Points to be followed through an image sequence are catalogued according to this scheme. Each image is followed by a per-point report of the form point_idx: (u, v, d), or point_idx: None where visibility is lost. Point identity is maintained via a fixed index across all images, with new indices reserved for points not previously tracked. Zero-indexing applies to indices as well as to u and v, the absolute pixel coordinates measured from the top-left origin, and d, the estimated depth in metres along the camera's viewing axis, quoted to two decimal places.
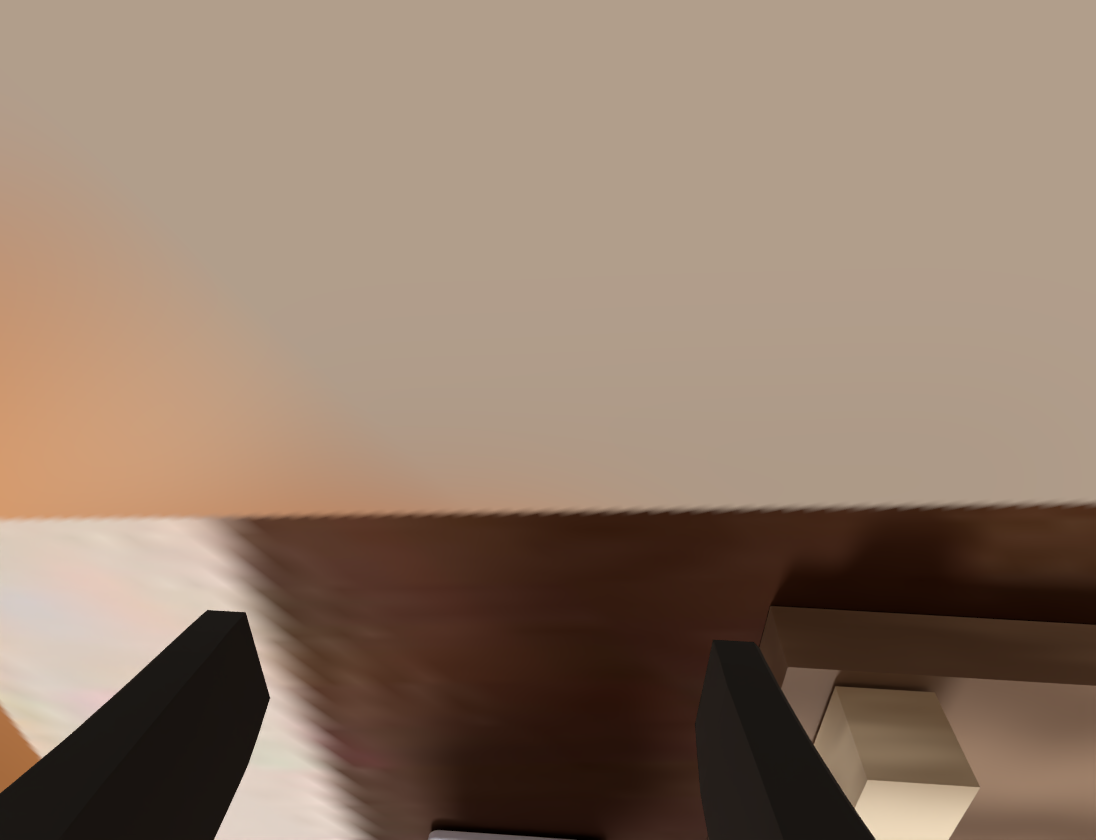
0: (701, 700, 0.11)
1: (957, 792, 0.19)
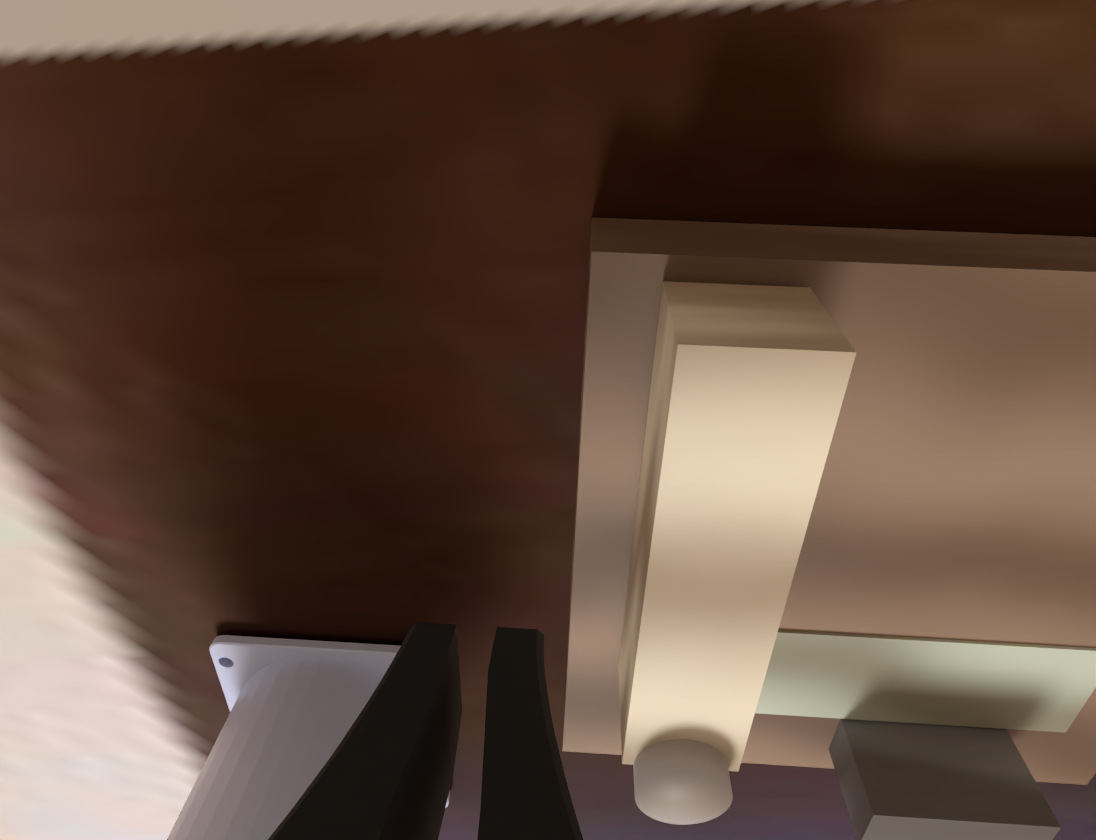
0: None
1: (822, 368, 0.12)
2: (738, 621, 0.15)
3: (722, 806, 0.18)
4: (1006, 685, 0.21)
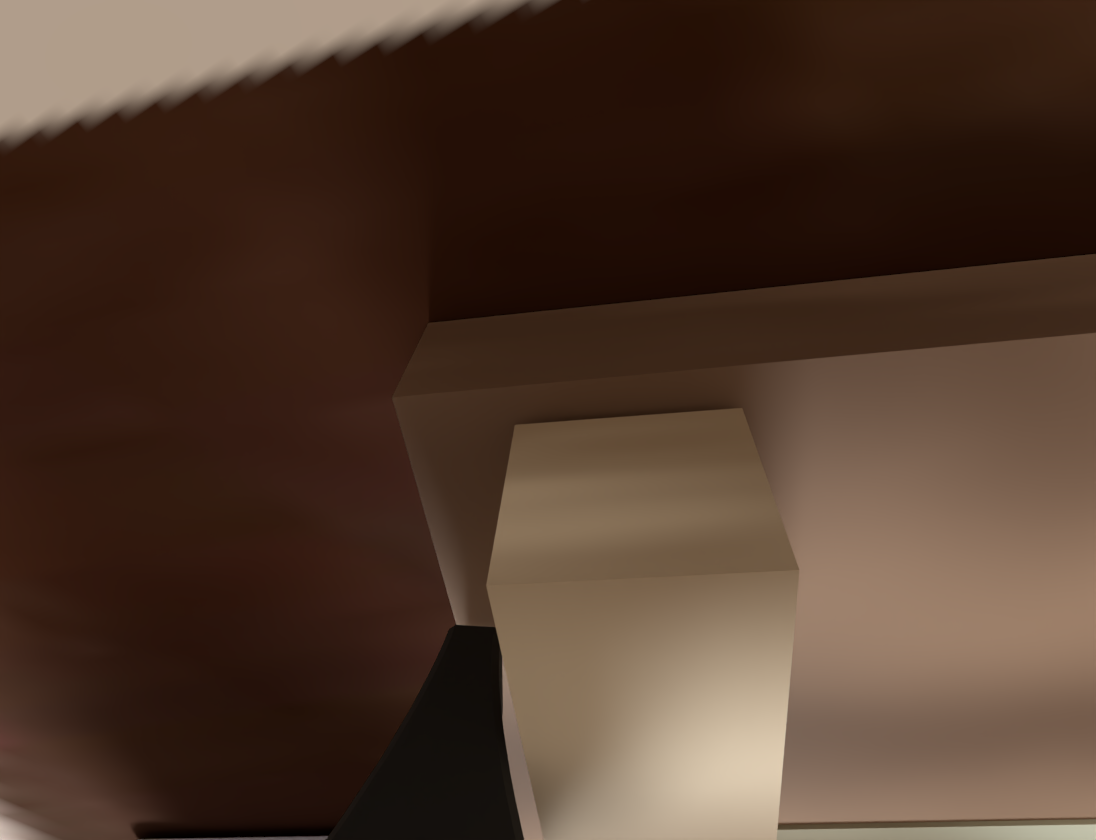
0: None
1: (746, 597, 0.07)
2: None
3: None
4: None
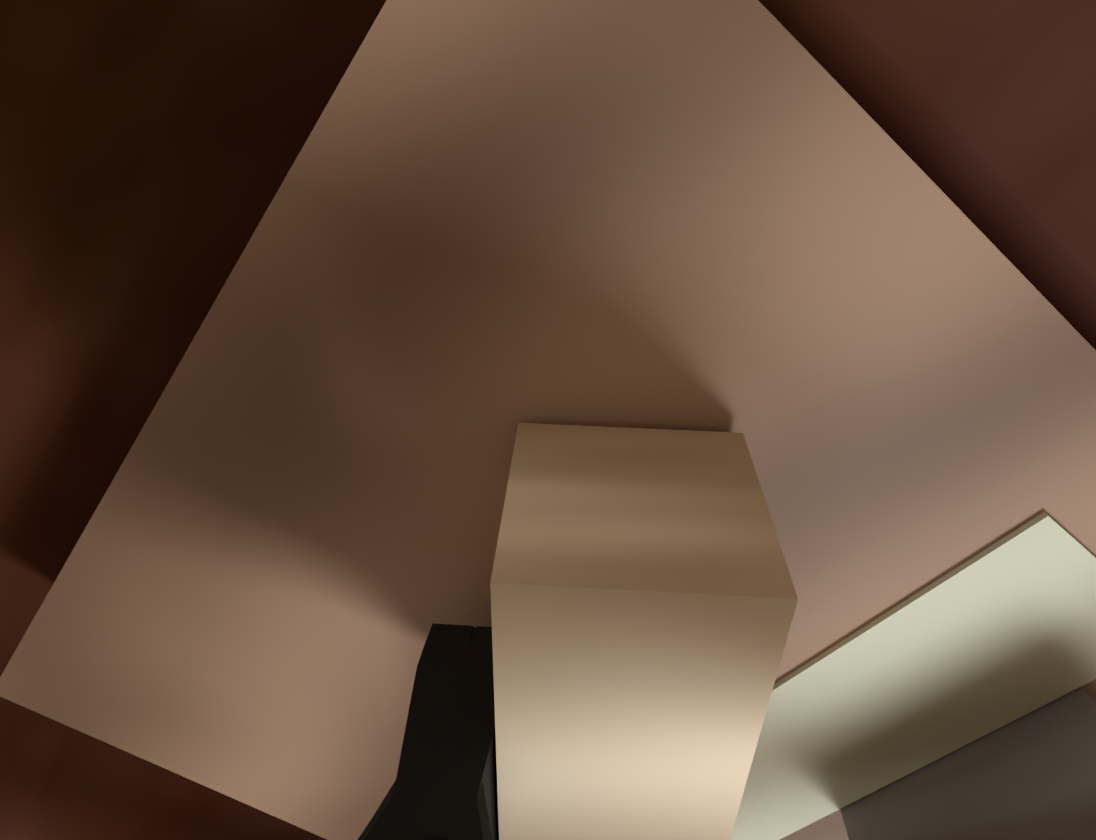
0: None
1: (742, 619, 0.07)
2: None
3: None
4: (966, 656, 0.12)
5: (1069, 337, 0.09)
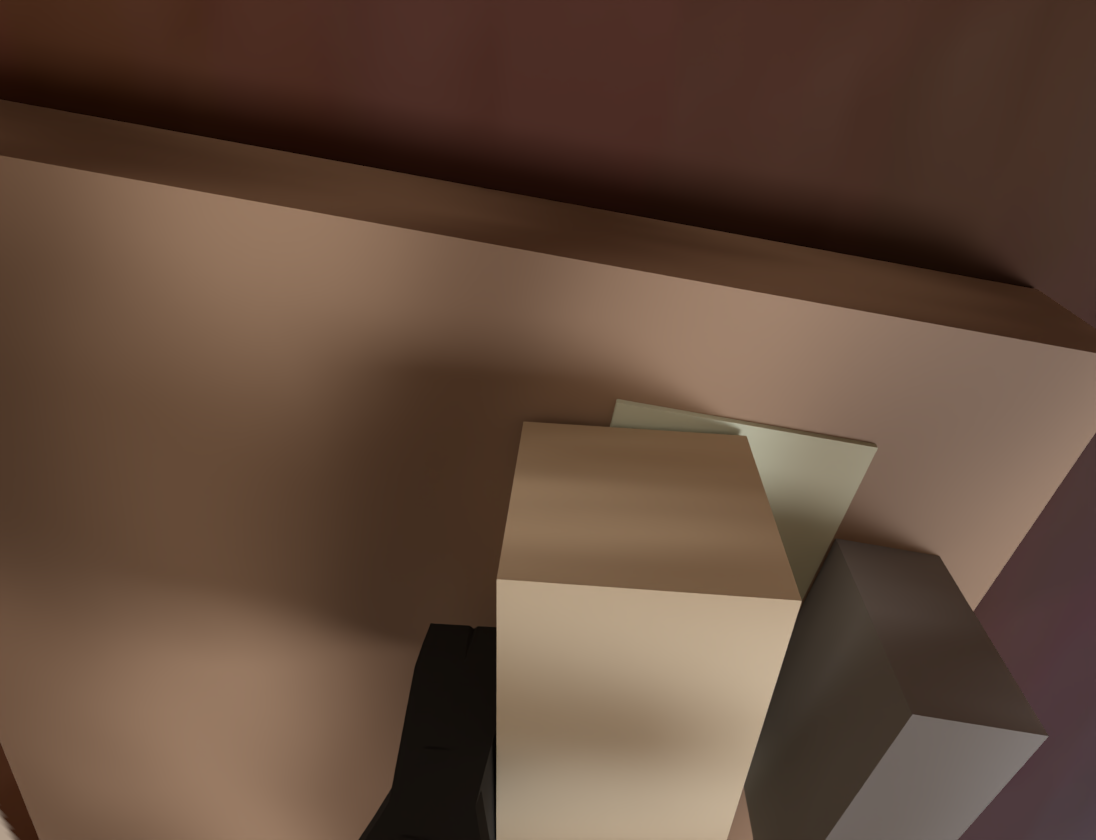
0: None
1: (745, 620, 0.07)
2: None
3: None
4: None
5: (472, 247, 0.09)
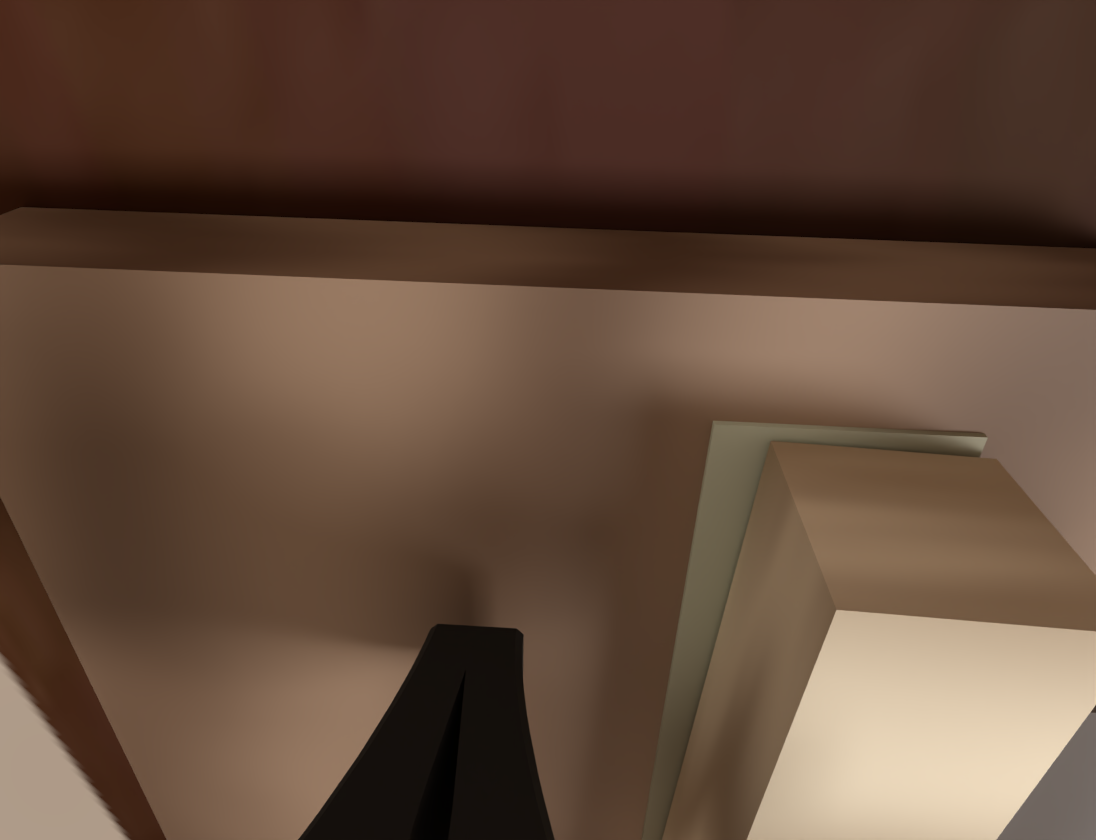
0: None
1: (1078, 653, 0.07)
2: None
3: None
4: None
5: (557, 294, 0.09)
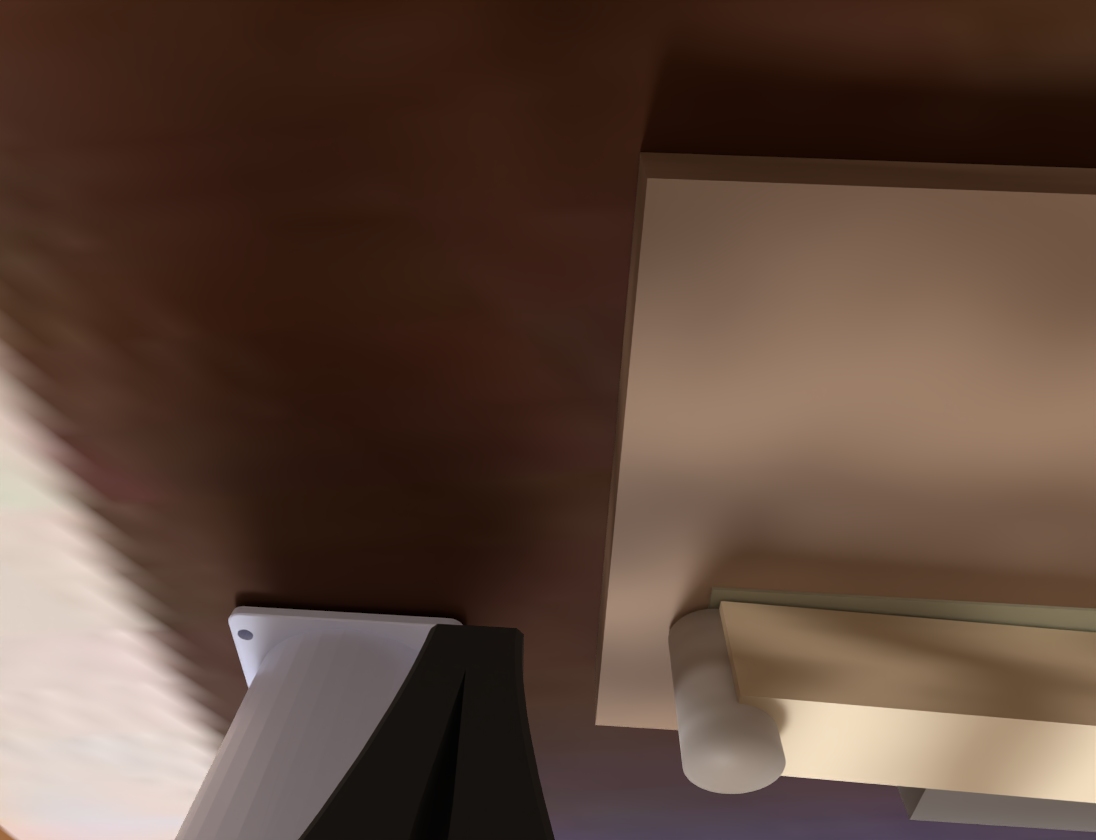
0: None
1: None
2: (941, 768, 0.18)
3: (714, 787, 0.17)
4: None
5: None
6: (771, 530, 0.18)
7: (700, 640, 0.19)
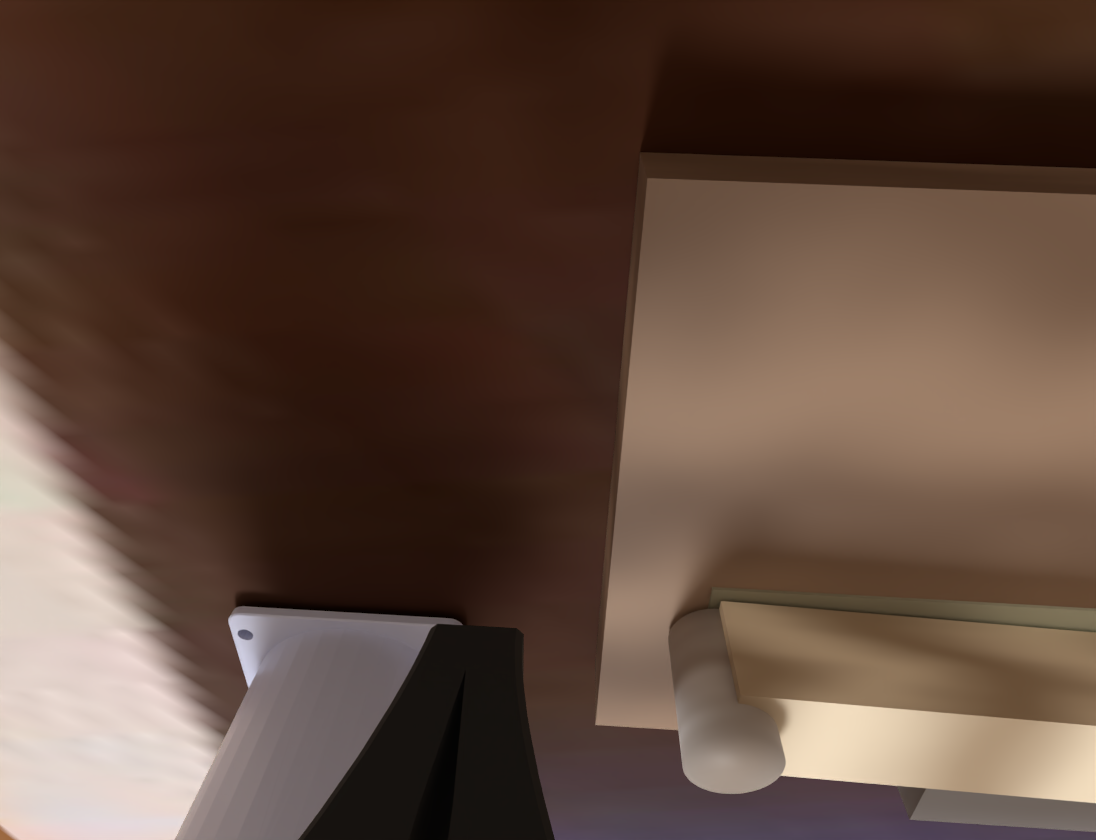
0: None
1: None
2: (941, 768, 0.18)
3: (714, 787, 0.17)
4: None
5: None
6: (771, 530, 0.18)
7: (700, 640, 0.19)
